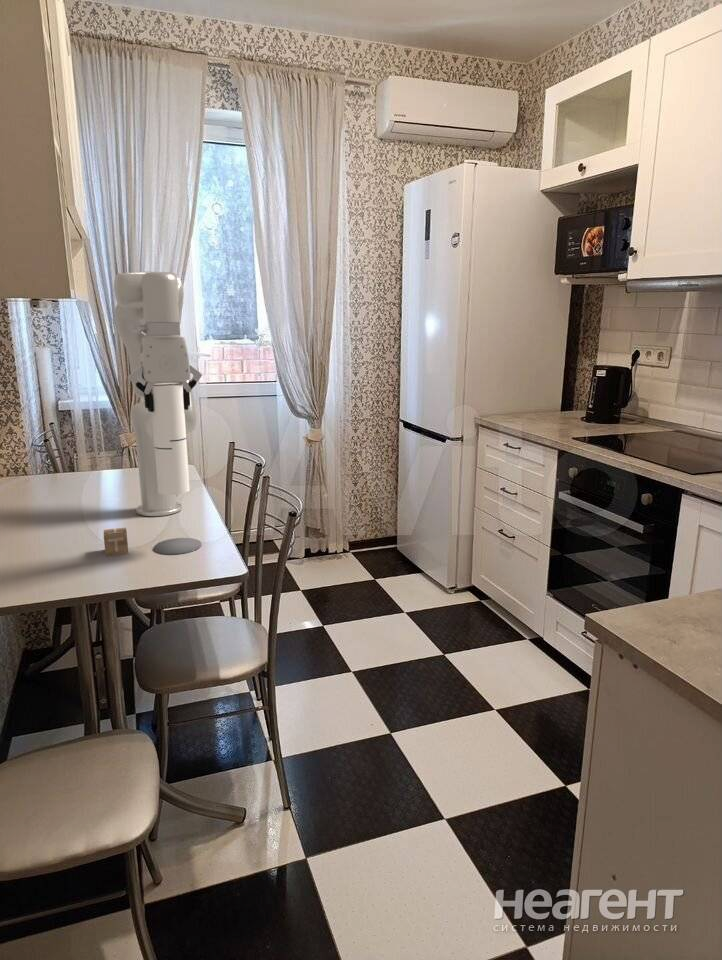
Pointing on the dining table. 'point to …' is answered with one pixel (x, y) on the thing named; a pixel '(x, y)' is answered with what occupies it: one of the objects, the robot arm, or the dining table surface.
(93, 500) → the dining table surface
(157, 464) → the cylindrical container
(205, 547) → the dining table surface
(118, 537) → the wooden letter cube
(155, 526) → the dining table surface
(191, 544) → the charcoal mat
